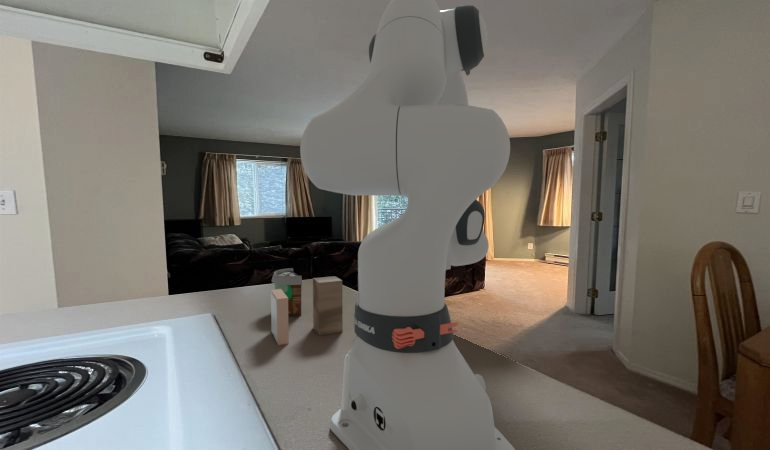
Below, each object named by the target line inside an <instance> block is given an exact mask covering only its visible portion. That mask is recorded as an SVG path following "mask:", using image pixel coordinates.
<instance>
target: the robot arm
mask: <svg viewBox="0 0 770 450" xmlns="http://www.w3.org/2000/svg"><path fill="white" fill-rule="evenodd" d="M487 45H488V28H487V25H486V22H485V20H484V18H483V16H482V15H481V13H480V10H479V9H478V8H477V7H475V6H474V5H471V4H469V5H457V6H456V5H455V8H451V9H444V10H440V7H439V5H438V4H437V2H436V0H390V2H388V4H387V6H386V8H385V10H384V12H383V13H382V16H381V18H380V21H379V24H378V26H377V30H376V33H375V34H374V35H373V36H372V38H371V40H370V42H369V45H368V57H369V59H368V60H369V68H368V71H367V74H366V76H365V77H364V78H363V80H362V81H361V82H360V83H359V85H358V86H356V88H355V89H354V90H353V91H351V93H350V94H348V96H346V97H345V98H344V99H343V100H342V101H340V102H338V103H337V104H336V105H335V106H333V107H331V108H329V109H328V110H326V111H325V110H324V111H323V112H322V113H319V114H317V115H315V116H314V117H312V119H310V121H309V122H308V124H307V125H306V127H305V128H304V130H303V132H302V136H301V141H300V148H299V152H300V160H301V165H302V167H303V170H304V172H305V174H306V176H307V178H308V179H309V181H311V183H312V184H313V185H314V186H315V187H316V188H317V189H320V190H324V191H327V192H332V193H337V194H343V195H349V196H401V197H405V198H407V204H406V208H405V211H404V212H403V214H402V215H400V216H399V217H398V218H396V219H393V220H391V221H388V222H387V223H385V224H382V225H380V226H379V227H377V228H375V229H373V231H371V232H369V233H368V234H367V235H366V236H365V237H364V238H363V240H362V241H361V243H360V244H359V245H360V246H359V248H358V252H357V272H358V273H357V292H358V295H357V302H356V303H355V305H354V313H353V322H354V334H355V335H356V337H355V339H354V342H353V344H352V345H351V347H350V349H349V350H348V351H347V353H346V355H345V356H344V359H343V369H342V370H343V373H342V387H341V388H342V389H341V390H342V392H341V404H340V406H341V407H340V408H339V409H338V410H337V411H336V412H335V413H333V415H332V416H331V418H330V423H329V428H330V431H331V432H332V433H333V434H334V435H335V436H336V437H337V438H338V439H339V440H340V441H341V442H342V444H344V445H345V446H346V447H347V449H348V450H516V449H515V447H514V446H513V444H511V443H510V441H508V440H507V438H506V437H505V436H504V435H503V434H502V433H501V432H500V431H499V429H498V428H497V426H495V421H494V420H495V419H494V413H493V407H492V402H491V399H490V397H489V394H487V392H486V390H487V389H486V387H487V386H486V382H485V379H484V377H483V376H482V375H481V374H478V373H476V374H474V372H473V370H472V369H471V367H470V366H469V364H468V363H467V361H466V360H465V358H464V356H463V355H462V353H461V351H460V349H458V347H457V346H456V343H455V342H454V337H455V335H454V333H458V331H459V330H458V329H453V328H454V327H456V326H458V322H455V321H453V322H452V319H451V314H450V313H449V308H448V305H447V304H446V303H445V293H446V292H445V290H446V289H445V288H446V287H445V286H446V271H447V270H451V268H452V267H459V266H460V267H461V266H466V265H467V266H468V265H472V264H475V263H478V262H480V261H481V260H483V259H484V258H485V257H486V256H487V255H488V252H489V245H490V244H489V239H488V237H487V236H486V234H485V230H484V225H485V219H486V215H485V213H486V212H485V208H484V206H483V205H482V203H481V202H480V201H479V200H477V199H478V198H479V197H480V196H481V195H484V193H486V192H487V191H489V190H490V189H491V188H492V187H494V185H495V184H496V183H497V182H498V181H500V178H501V177H502V176H503V175H504V172H505V171H506V168H507V166H508V163H509V160H510V159H509V158H510V154H511V142H510V141H511V140H510V135H509V132H508V129H507V126H506V124H505V123H504V121H503V120H502V118H501V116H499V114H498V113H497V112H496V111H495V110H494V109H493V108H492V109H491V108H487V107H486V108H485V107H480V106H475V105H470V104H469V98H468V93H467V89H466V85H465V79H464V78H463V75H462V72H463V71H464V72H465V74H466V76H469V75H470V74H471V70H473V69H474V68H477V66H479V65H480V63H481V62H482V61H483V59H484V58H485V51H486V49H487ZM451 266H452V267H451Z"/></svg>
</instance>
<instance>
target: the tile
mask: <svg viewBox="0 0 770 450" xmlns="http://www.w3.org/2000/svg"><path fill="white" fill-rule="evenodd" d="M270 313H271V315H270V317H271V318H270V320H271V333H272V334H273V337H274V340H275V342H276V344H277V345H278V346H282V345H289V343H290V340H289V339H290V337H289V336H290V335H289V333H290V332H289V316H288V297H287V296H286V295H285V293H284V292H283V291H282V290H281V289H276V290H275V289H271V290H270Z"/></svg>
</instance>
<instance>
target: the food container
mask: <svg viewBox="0 0 770 450" xmlns="http://www.w3.org/2000/svg"><path fill="white" fill-rule="evenodd" d="M271 283H274V290H276V289H281V290H282V291H283V292H284V293H285V295H286V296H287V297H288V317H301V316H302V285H303V279H302V275H298V274H297V273H295V272H294V268H293V267H291V268H289V267H288V268H282V269H278V270H275V271H274V272H273V275H272V278H271Z"/></svg>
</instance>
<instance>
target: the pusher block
mask: <svg viewBox="0 0 770 450" xmlns="http://www.w3.org/2000/svg"><path fill="white" fill-rule="evenodd" d="M312 315H313V316H312V317H313V318H312V319H313V320H312V323H313V324H312V325H313V326H312V327H313V329H314V331H315V332H316V333H317V334H318V336H320V337H321V336H325V335H331V334H338V333H342V332H343V320H344V319H343V280H342V279H341V278H339V277H338V276H335V275H334V276H324V277H323V276H322V277H312Z"/></svg>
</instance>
